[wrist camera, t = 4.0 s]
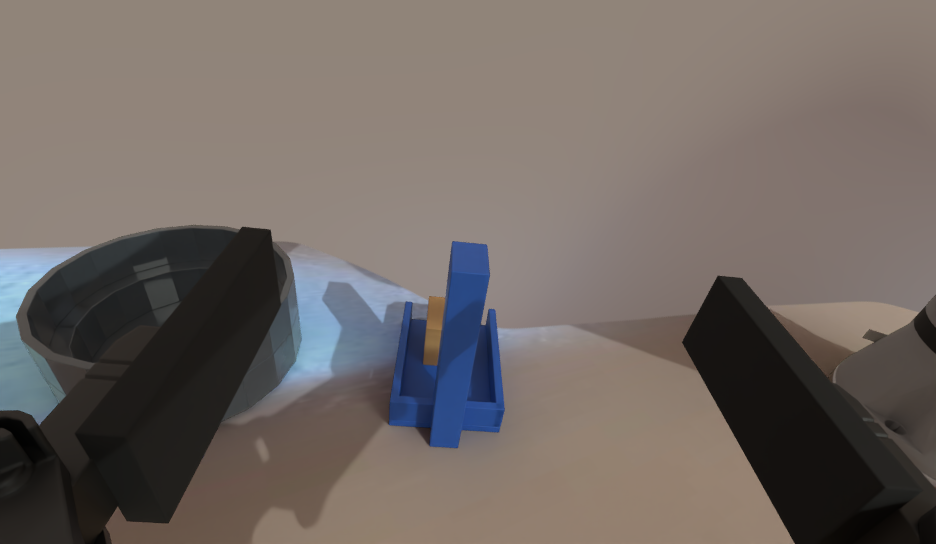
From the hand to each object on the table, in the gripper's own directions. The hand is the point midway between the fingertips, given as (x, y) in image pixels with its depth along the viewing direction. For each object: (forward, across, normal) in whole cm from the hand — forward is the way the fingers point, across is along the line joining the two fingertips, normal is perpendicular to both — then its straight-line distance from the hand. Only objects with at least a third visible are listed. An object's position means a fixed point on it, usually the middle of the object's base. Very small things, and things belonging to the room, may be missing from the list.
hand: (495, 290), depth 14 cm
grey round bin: (+15, -20, -20) cm, 32 cm away
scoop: (+15, 0, -20) cm, 25 cm away
